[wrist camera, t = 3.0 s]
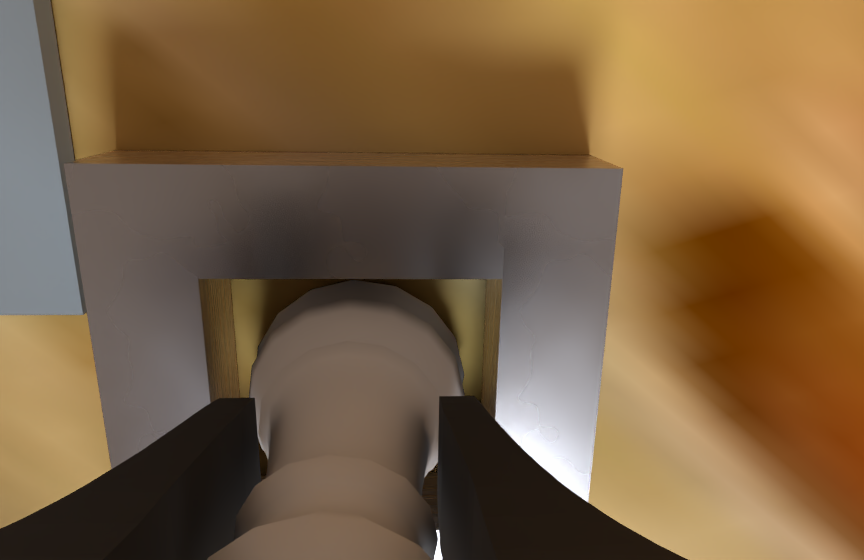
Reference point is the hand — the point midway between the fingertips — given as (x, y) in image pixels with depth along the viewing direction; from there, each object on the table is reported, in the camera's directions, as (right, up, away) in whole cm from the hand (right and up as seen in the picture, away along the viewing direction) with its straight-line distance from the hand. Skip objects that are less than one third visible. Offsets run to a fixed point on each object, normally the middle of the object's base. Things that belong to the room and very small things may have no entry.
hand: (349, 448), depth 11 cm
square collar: (0, +1, +3) cm, 3 cm away
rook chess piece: (0, +1, +3) cm, 3 cm away
